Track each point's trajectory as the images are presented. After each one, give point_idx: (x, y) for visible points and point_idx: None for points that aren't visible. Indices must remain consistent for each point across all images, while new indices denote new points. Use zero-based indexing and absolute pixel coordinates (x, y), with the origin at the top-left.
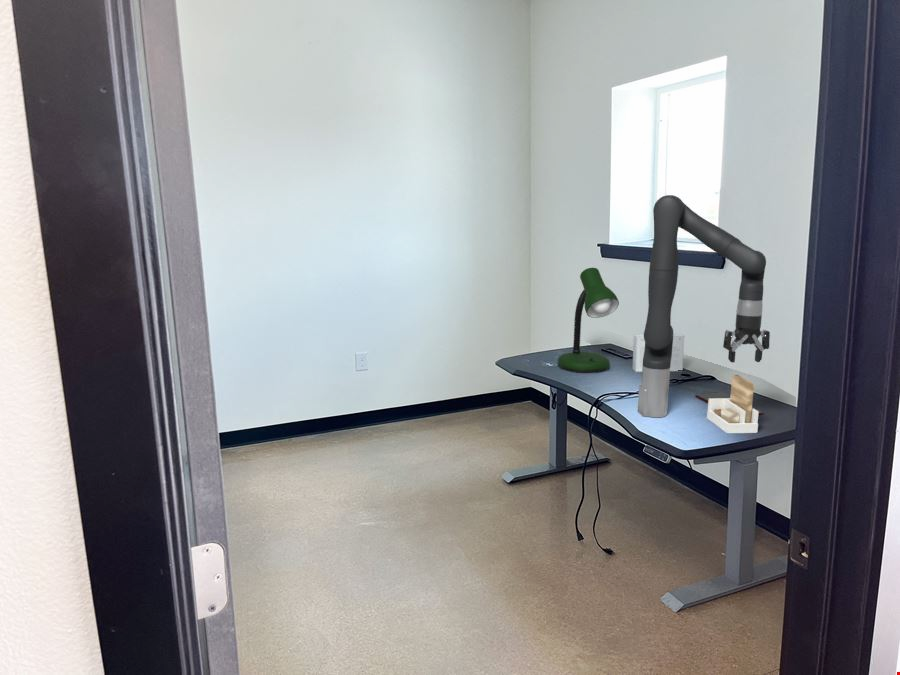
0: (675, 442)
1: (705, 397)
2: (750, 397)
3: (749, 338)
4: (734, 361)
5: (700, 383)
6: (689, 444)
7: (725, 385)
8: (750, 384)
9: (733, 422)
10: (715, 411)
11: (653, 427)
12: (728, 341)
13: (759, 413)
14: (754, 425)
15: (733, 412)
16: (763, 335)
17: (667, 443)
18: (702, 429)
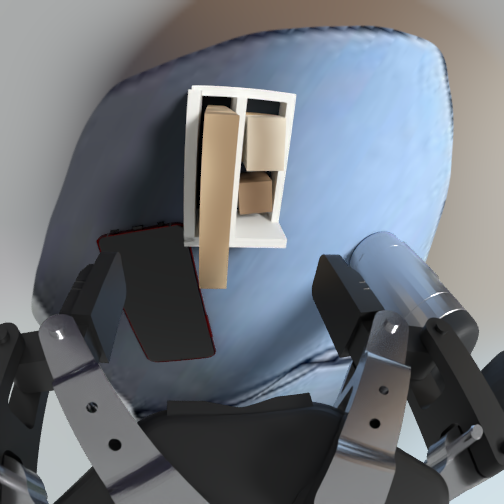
0: (433, 83)
1: (200, 340)
2: (217, 110)
3: (239, 483)
4: (327, 255)
5: (168, 400)
6: (415, 61)
7: (125, 389)
8: (227, 115)
9: (262, 114)
10: (271, 202)
11: (425, 175)
12: (477, 375)
13: (110, 234)
14: (204, 86)
15: (265, 126)
16: (15, 483)
17: (446, 85)
18: (337, 136)
